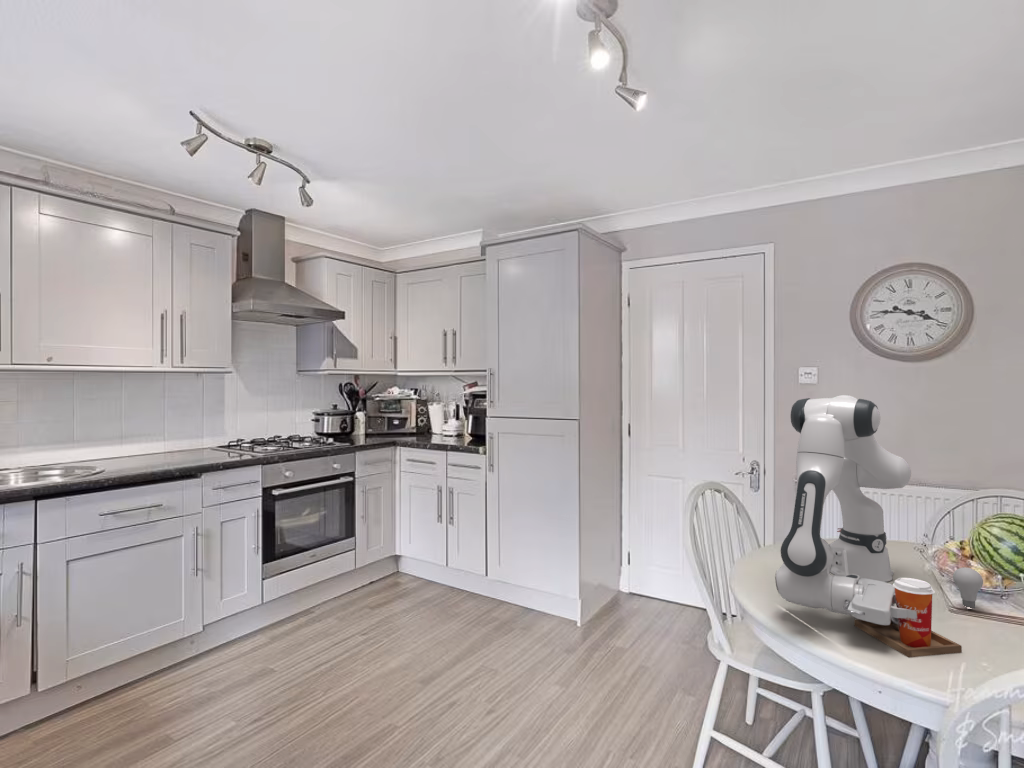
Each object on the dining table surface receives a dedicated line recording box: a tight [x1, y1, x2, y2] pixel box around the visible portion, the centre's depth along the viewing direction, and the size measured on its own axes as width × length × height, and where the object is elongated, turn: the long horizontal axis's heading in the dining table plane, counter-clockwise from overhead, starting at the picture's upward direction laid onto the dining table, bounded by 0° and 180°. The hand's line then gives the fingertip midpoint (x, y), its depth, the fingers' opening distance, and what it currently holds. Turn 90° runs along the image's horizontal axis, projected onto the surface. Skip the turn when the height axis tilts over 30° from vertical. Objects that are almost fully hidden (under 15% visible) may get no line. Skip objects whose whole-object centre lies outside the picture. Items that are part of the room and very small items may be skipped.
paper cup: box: [892, 577, 936, 648], centre depth 123 cm, size 8×8×14 cm
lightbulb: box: [952, 566, 984, 609], centre depth 142 cm, size 6×6×11 cm
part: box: [892, 617, 899, 631], centre depth 130 cm, size 4×4×3 cm
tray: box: [853, 618, 963, 658], centre depth 126 cm, size 16×13×2 cm
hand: (917, 609), depth 123 cm, fingers closed on paper cup, 6 cm apart
